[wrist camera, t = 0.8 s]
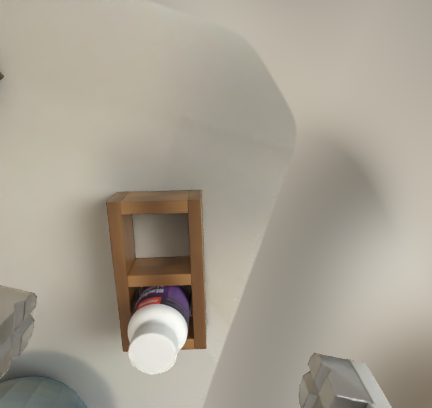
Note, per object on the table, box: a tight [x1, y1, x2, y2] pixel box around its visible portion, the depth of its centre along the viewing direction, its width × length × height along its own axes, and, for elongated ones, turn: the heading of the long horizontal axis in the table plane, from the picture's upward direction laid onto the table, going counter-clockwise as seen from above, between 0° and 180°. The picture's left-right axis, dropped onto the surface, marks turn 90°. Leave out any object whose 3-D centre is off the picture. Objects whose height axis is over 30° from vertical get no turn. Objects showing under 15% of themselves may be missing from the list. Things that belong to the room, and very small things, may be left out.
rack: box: [106, 190, 206, 352], centre depth 34 cm, size 8×16×4 cm, turn 1°
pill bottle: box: [127, 285, 191, 374], centre depth 32 cm, size 5×5×10 cm
